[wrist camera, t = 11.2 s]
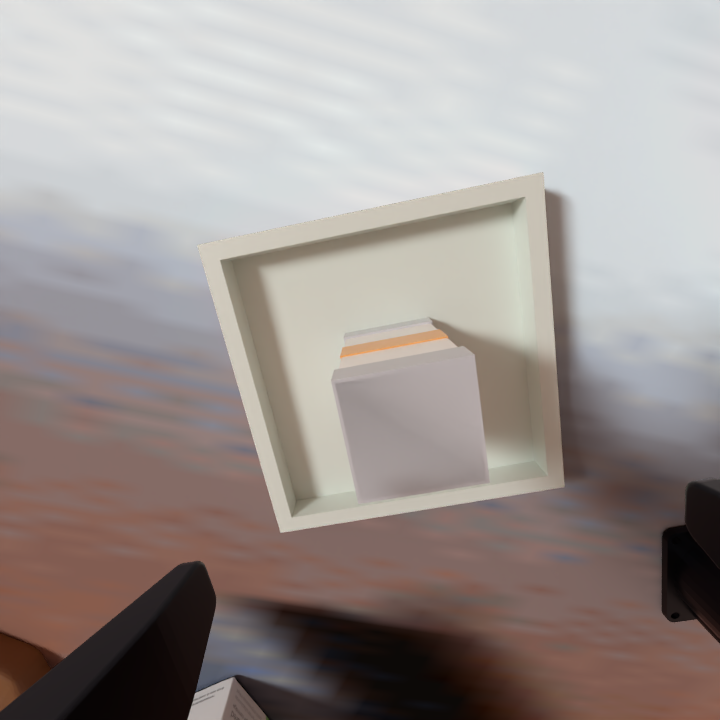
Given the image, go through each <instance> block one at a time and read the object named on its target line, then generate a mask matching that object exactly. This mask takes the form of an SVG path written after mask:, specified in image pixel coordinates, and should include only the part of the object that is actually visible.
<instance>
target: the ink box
mask: <svg viewBox="0 0 720 720" xmlns="http://www.w3.org/2000/svg"><path fill="white" fill-rule="evenodd" d="M187 720H269V718H268V717H267V716H266V715H265V714H264V712H263V711H262V710H261V709H260V708H259V706H258V705H257V704H256V703H255V702H254V701H253V699H252V698H251V697H250V696H249V695H248V694H247V692H246V691H245V690H244V689H243V688H242V686H241V685H240V684H239V683H238V682H237V680H236V679H235V677H232V678H229V679H227V680H225V681H222V682H219V683H217V684H215V685H212V686H210V687H208V688H206V689H203V690H201V691H199V692H196V693H195V695H194V699H193V703H192V706H191V709H190V713H189V716H188V719H187Z"/></svg>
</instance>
